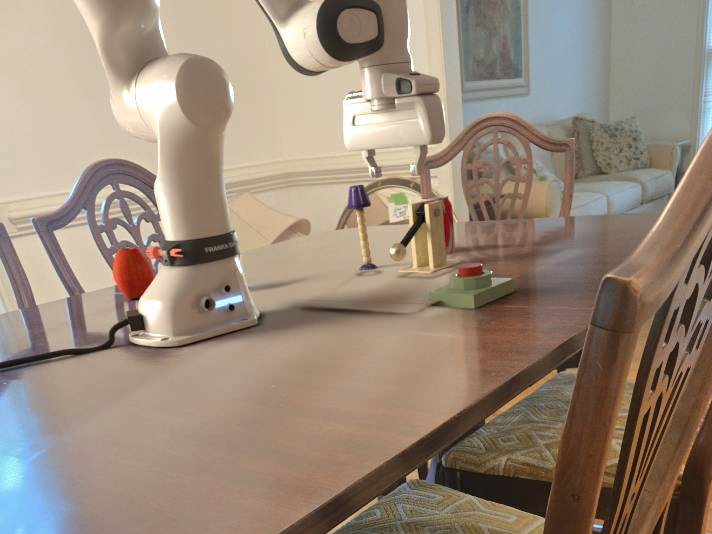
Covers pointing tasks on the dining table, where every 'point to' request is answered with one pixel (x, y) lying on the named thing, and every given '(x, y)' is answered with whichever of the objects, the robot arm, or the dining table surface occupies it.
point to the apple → (132, 272)
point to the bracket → (428, 240)
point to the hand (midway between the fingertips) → (396, 176)
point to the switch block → (471, 290)
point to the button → (470, 270)
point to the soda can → (445, 220)
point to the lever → (408, 236)
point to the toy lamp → (361, 221)
